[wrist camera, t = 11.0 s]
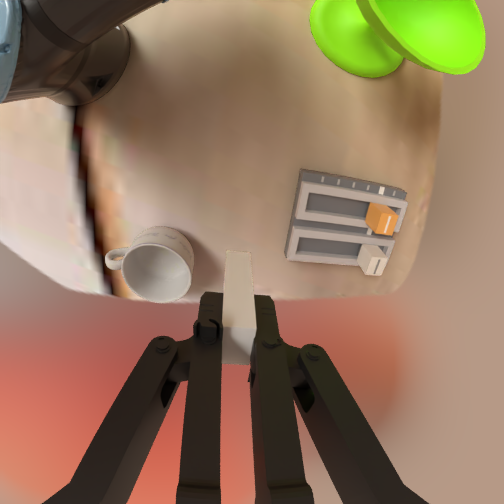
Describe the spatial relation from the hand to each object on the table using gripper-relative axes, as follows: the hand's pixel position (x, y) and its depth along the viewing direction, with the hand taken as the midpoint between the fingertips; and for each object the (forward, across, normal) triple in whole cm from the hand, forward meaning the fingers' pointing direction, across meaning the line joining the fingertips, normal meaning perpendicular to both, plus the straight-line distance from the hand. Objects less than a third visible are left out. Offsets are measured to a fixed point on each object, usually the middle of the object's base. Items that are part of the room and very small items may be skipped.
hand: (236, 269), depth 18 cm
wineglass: (+25, +15, +26) cm, 39 cm away
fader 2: (+22, +22, -9) cm, 32 cm away
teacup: (+25, -12, -13) cm, 30 cm away
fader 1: (+22, +21, -2) cm, 31 cm away
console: (+24, +18, -5) cm, 31 cm away
